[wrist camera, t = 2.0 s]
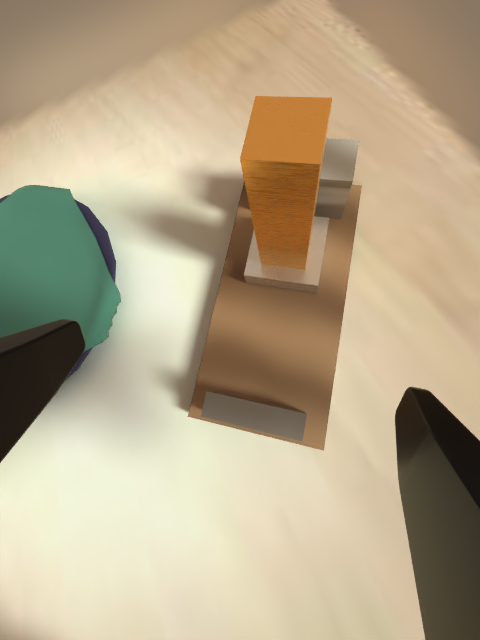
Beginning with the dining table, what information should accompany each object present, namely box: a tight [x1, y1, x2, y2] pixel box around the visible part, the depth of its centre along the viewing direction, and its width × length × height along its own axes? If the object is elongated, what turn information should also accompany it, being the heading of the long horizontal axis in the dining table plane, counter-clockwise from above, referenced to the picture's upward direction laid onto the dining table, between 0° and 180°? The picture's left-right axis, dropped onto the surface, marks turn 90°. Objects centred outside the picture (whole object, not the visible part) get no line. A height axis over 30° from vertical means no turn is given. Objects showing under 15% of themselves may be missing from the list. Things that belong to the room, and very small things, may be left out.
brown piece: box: [188, 139, 362, 450], centre depth 20 cm, size 19×9×6 cm, turn 168°
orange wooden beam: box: [240, 96, 332, 293], centre depth 17 cm, size 11×5×11 cm, turn 168°
